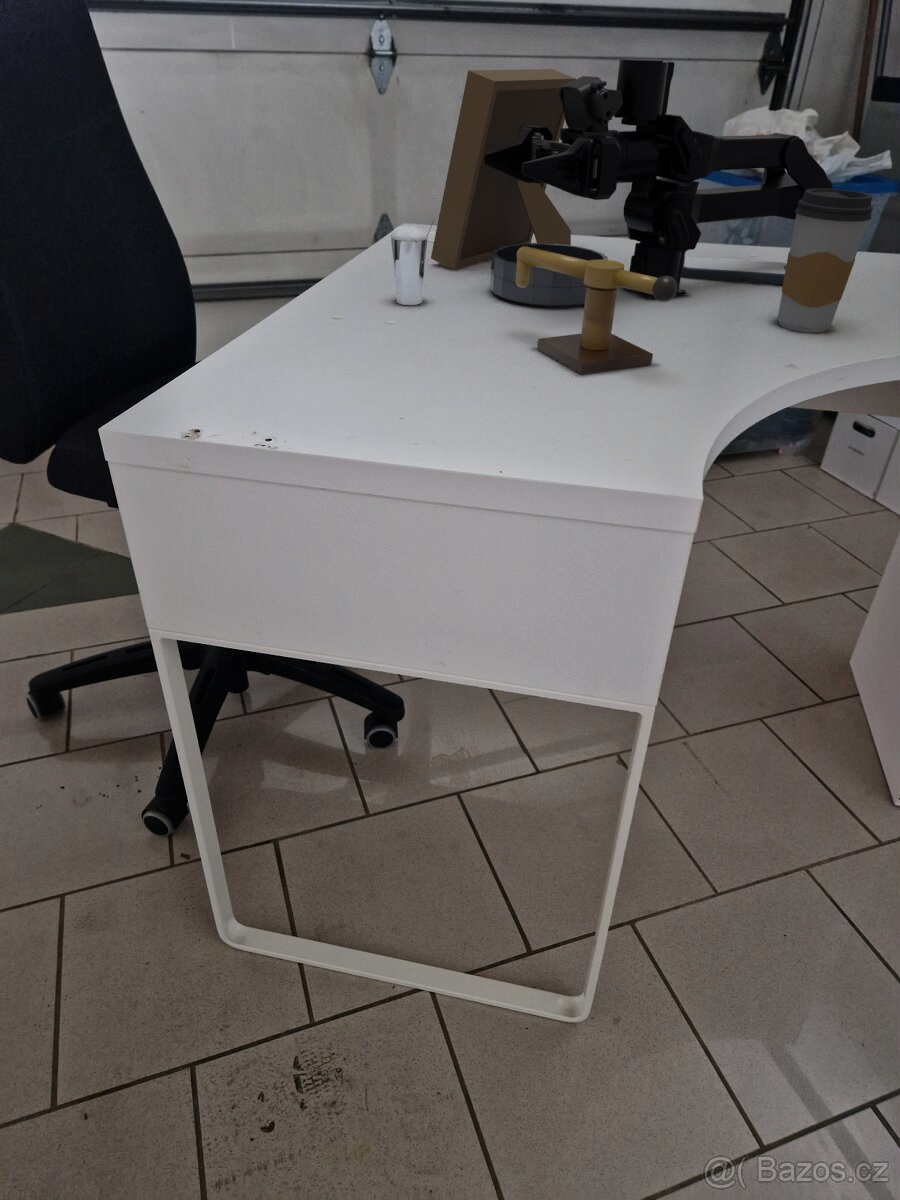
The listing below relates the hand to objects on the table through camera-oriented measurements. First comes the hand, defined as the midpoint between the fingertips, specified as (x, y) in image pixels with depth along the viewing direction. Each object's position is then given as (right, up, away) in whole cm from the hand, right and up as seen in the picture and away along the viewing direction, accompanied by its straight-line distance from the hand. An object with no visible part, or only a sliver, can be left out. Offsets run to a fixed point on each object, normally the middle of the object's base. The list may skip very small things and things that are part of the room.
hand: (502, 163), depth 96 cm
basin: (+7, -9, +16) cm, 20 cm away
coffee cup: (+38, -17, +7) cm, 42 cm away
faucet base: (+10, -24, -5) cm, 26 cm away
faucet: (+9, -19, -7) cm, 22 cm away
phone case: (+37, -2, +29) cm, 47 cm away
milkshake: (-11, -12, +11) cm, 20 cm away
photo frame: (+3, +2, +32) cm, 33 cm away
